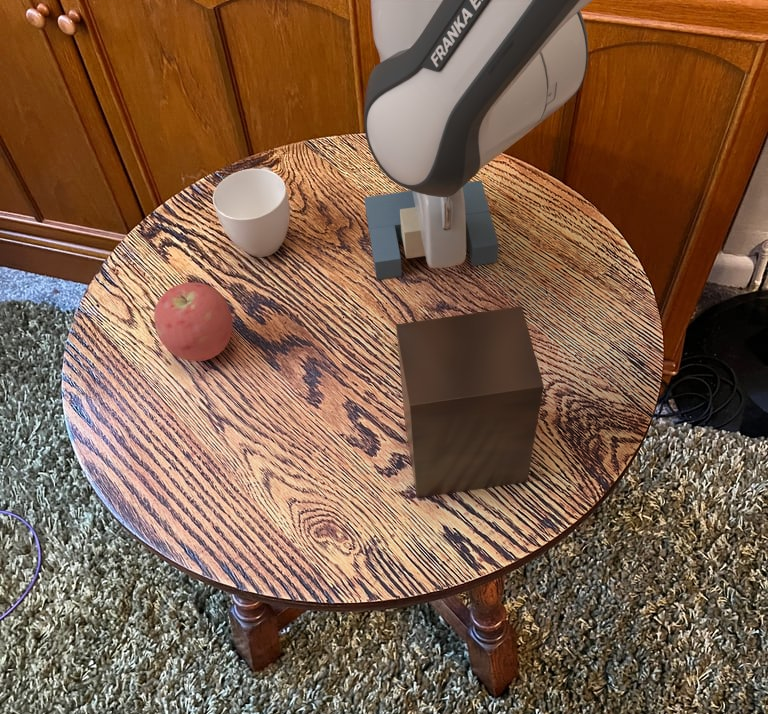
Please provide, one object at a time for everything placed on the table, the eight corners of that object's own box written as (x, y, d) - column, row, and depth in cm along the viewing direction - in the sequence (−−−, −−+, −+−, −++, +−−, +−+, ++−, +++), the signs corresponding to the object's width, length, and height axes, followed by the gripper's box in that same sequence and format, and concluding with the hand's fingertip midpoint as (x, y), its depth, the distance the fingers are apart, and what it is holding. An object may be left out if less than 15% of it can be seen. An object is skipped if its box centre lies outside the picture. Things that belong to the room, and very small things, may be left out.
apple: (241, 372, 77) (220, 317, 70) (168, 381, 78) (140, 327, 71) (240, 316, 81) (221, 259, 74) (171, 325, 81) (145, 268, 74)
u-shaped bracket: (480, 198, 87) (481, 180, 84) (497, 262, 82) (498, 244, 80) (366, 215, 87) (364, 197, 84) (376, 280, 82) (374, 262, 80)
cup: (219, 265, 85) (202, 215, 79) (246, 202, 89) (231, 151, 83) (287, 272, 83) (274, 222, 78) (310, 208, 88) (300, 156, 82)
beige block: (456, 227, 82) (457, 200, 79) (462, 250, 81) (463, 224, 78) (401, 235, 82) (399, 209, 79) (405, 259, 81) (404, 232, 78)
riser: (509, 410, 73) (521, 305, 60) (527, 482, 69) (544, 386, 57) (405, 425, 73) (395, 323, 61) (416, 498, 69) (409, 405, 57)
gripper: (485, 187, 64) (480, 305, 76) (446, 43, 73) (446, 168, 86) (410, 198, 64) (416, 314, 76) (381, 53, 73) (390, 177, 86)
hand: (432, 236), depth 81 cm, fingers closed on beige block, 3 cm apart
